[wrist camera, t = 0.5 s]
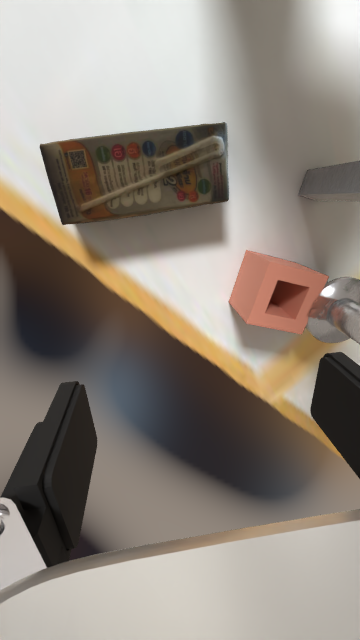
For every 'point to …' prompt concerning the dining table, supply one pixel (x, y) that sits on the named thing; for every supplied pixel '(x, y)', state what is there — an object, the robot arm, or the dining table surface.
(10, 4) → the dining table surface
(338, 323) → the silver flanged rod
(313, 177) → the gray square bar
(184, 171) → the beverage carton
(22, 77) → the dining table surface
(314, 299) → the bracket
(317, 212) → the dining table surface
